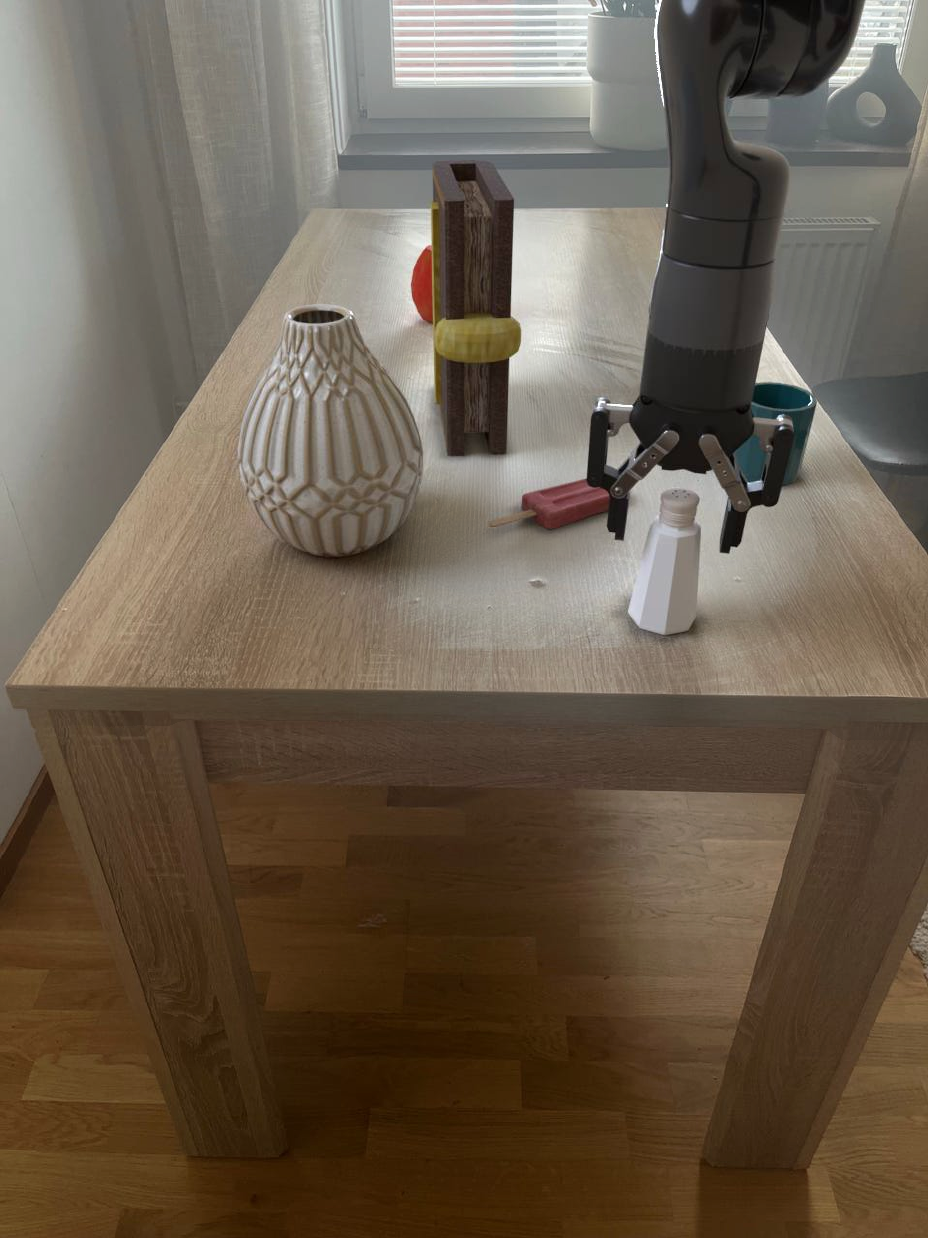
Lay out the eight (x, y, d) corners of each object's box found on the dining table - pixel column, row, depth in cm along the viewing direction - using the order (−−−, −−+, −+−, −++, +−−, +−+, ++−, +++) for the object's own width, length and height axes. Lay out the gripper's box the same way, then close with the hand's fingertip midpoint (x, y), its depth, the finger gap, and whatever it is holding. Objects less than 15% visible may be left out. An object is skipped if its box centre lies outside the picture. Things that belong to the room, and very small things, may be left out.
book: (426, 386, 112) (421, 160, 98) (495, 383, 113) (500, 159, 98) (438, 468, 95) (434, 208, 80) (520, 465, 95) (531, 206, 81)
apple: (467, 309, 136) (468, 233, 130) (469, 327, 130) (470, 248, 124) (412, 309, 136) (409, 233, 130) (411, 328, 130) (408, 248, 123)
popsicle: (476, 506, 85) (604, 470, 91) (475, 523, 86) (603, 486, 92) (503, 527, 81) (634, 488, 88) (502, 544, 82) (632, 504, 89)
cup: (807, 465, 95) (825, 391, 91) (786, 493, 91) (804, 416, 86) (740, 448, 99) (754, 376, 94) (716, 474, 94) (729, 400, 89)
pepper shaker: (692, 598, 76) (713, 478, 69) (699, 638, 71) (723, 514, 65) (626, 594, 76) (641, 475, 70) (629, 634, 72) (645, 510, 65)
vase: (322, 477, 93) (301, 274, 81) (457, 517, 87) (456, 302, 75) (212, 549, 82) (170, 325, 70) (358, 600, 75) (339, 363, 64)
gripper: (589, 335, 58) (571, 556, 68) (826, 354, 56) (771, 580, 66) (602, 300, 64) (583, 507, 74) (816, 315, 62) (767, 528, 71)
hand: (671, 541), depth 70 cm, fingers open, 7 cm apart
